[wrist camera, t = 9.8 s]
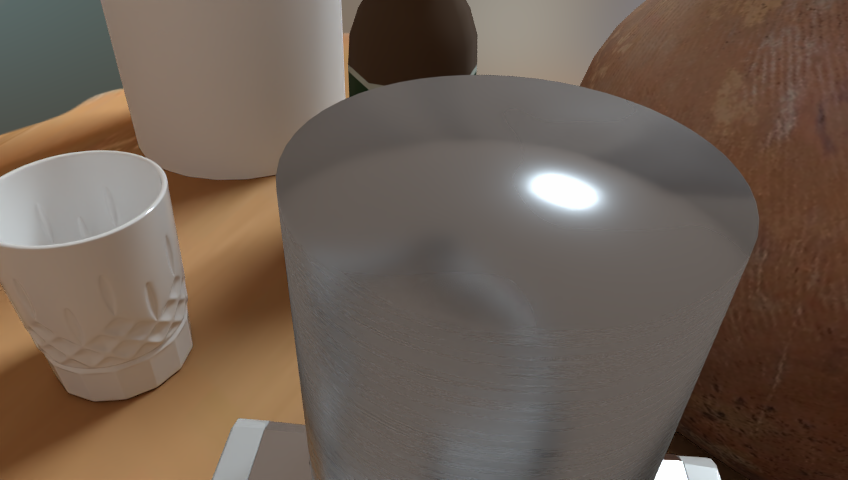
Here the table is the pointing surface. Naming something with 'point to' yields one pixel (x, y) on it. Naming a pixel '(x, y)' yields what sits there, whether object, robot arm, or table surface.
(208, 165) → the cylinder
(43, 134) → the table surface
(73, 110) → the table surface
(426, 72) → the beer bottle
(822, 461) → the pottery
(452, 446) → the grey cylindrical bottle
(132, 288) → the white cup
